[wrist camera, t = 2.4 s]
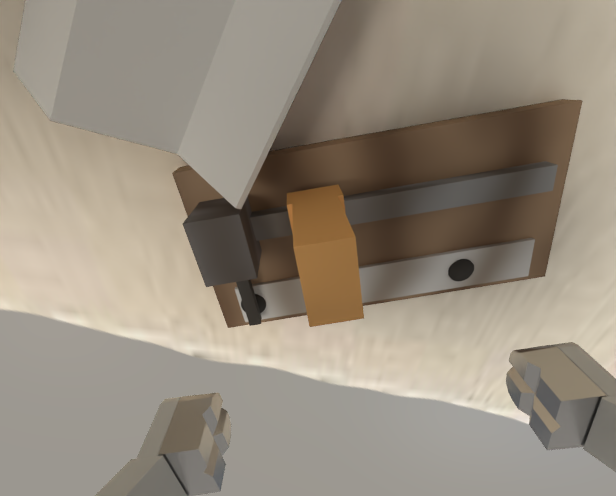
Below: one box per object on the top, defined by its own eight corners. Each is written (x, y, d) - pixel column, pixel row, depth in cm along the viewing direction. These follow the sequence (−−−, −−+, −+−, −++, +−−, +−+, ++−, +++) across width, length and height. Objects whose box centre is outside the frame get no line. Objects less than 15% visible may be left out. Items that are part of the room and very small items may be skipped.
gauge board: (231, 315, 26) (219, 363, 21) (180, 167, 20) (148, 190, 16) (531, 266, 25) (583, 305, 21) (562, 99, 20) (642, 103, 15)
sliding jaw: (310, 309, 23) (319, 402, 16) (286, 190, 19) (285, 248, 12) (351, 302, 23) (377, 393, 16) (336, 181, 19) (363, 235, 12)
